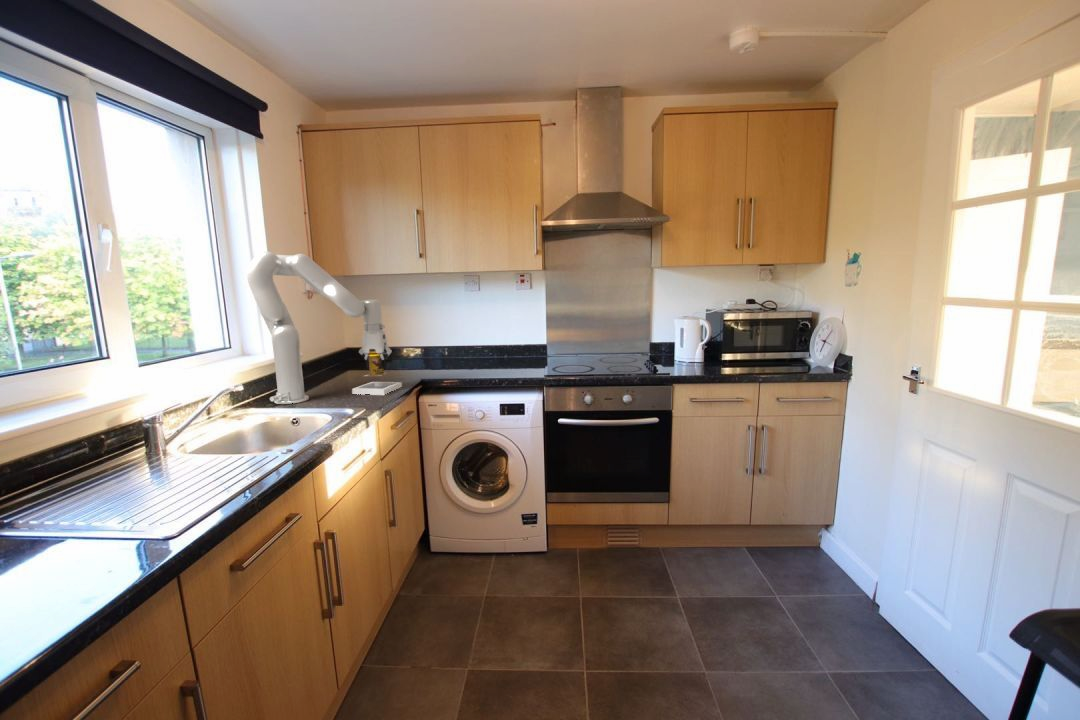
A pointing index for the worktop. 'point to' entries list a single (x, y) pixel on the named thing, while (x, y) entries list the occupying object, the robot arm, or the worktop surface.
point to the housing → (376, 388)
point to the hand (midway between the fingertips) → (376, 368)
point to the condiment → (374, 364)
